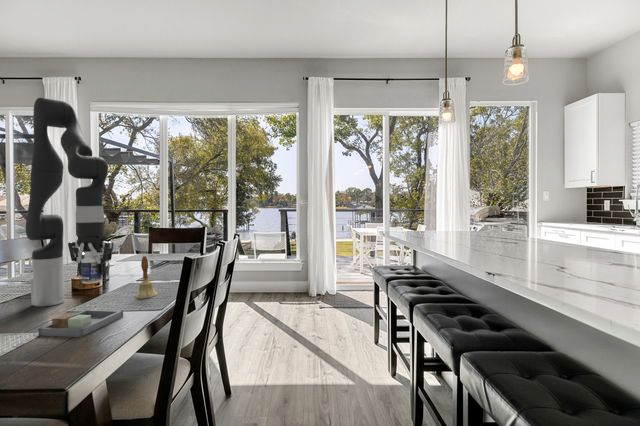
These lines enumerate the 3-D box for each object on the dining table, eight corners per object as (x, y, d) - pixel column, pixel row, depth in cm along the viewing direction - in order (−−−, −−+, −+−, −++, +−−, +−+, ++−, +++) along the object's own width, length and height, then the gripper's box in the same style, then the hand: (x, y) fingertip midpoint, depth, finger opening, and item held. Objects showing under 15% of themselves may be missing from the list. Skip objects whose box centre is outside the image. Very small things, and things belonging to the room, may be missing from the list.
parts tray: (38, 337, 104) (38, 328, 104) (86, 317, 122) (86, 309, 122) (80, 339, 103) (80, 330, 103) (123, 318, 121) (122, 310, 121)
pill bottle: (92, 284, 113) (91, 252, 113) (77, 283, 114) (76, 252, 114) (106, 280, 118) (105, 249, 118) (91, 279, 119) (90, 249, 119)
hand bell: (142, 299, 144) (141, 258, 143) (130, 296, 148) (129, 256, 148) (161, 294, 151) (160, 255, 150) (149, 292, 155) (148, 254, 155)
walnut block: (52, 332, 107) (51, 318, 106) (63, 327, 111) (63, 314, 110) (65, 332, 106) (64, 318, 106) (75, 328, 110) (75, 314, 110)
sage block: (68, 332, 106) (67, 319, 106) (79, 328, 110) (78, 314, 110) (81, 333, 105) (80, 319, 105) (91, 328, 109) (91, 315, 109)
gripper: (59, 221, 113) (61, 277, 113) (102, 221, 111) (104, 277, 111) (78, 220, 120) (80, 272, 121) (119, 220, 118) (121, 272, 119)
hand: (91, 274), depth 116 cm, fingers closed on pill bottle, 5 cm apart
